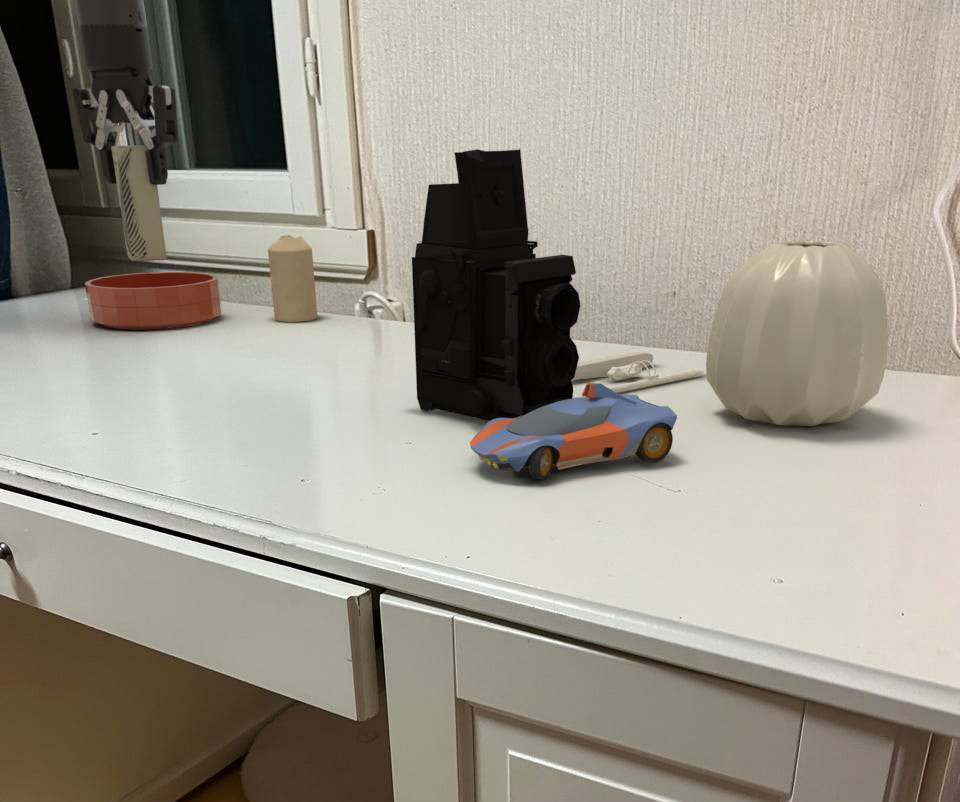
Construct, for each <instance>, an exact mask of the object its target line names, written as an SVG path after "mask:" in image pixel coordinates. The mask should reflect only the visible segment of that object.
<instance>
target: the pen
mask: <svg viewBox="0 0 960 802" xmlns="http://www.w3.org/2000/svg"><path fill="white" fill-rule="evenodd" d="M642 360H647V361H649V362H651V363H652V364H653V361H654V355H653V354H652V353H650V352H647V351H644V350H641V351H640V350H639V351H627V352H622V353H617V354H612V355H607V356H603V357H596V358H591V359H588V360H582V361H578V364H577V368H576V372H575V376H574V378H573V379H572V380H581V379H597V378H605V377H608V376H607V372H608V371H610V369H611V368H612V367H622V366H627V365H630V364H631V363H634V362H636V361H642ZM638 363H639V362H638ZM638 363H635V364H638ZM643 363H644V364H645V365H646V366H647V368H648V367H649V366H651V364H650V363H648V362H646V361H643ZM639 366H640V367H642V369H646V367H645V366H644V365H643V364H642V363H640V364H639Z"/></svg>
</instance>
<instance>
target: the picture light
mask: <svg viewBox="0 0 960 802" xmlns="http://www.w3.org/2000/svg"><path fill="white" fill-rule="evenodd" d="M643 361H646V362H648V363H650V366H651V367H652V368H653V372H654V374H651V372H650V369H649V368H648V367H647V366H646V365H645V364H644V363H643ZM638 362H639V363H638ZM635 363H638V364H635ZM640 363H642V364H643V365H644V366H645V369H646V370H647V374H648V375H646V379H643V380H642V379H641V380H637V381H633V382H627V383H623V384H618V385H613V386H606V387H607V388H609V389H611V390H612V391H614V392H616V393H618V394H620V393H623V392H628V391H632V390H637V389H643V388H649V387H652V386H657V385H661V384H666V383H672V382H677V381H681V380H687V379H690V378H697V377H699V376H702V374H703V373H704V370H701V369H694V368H693V369H691V370H687V371H682V372H679V373H678V372H677V373H673V374H668V375H663V376H660V375H659V373H657V371H656V368H655V366H654V364H653V362H652V363H651V362H649V361H647V360H642V361H636V362H634V363H631V364H630V365H627V366H622V367H612V368H611V369H610V371H608V372H607V376H606V377H607V378H609V379H610V380H611V381H615V382H618V381H620V380H622V379H628V378H637V377H639V375H640V374H641V373H642V372H643V368H642V367H640V366H639V364H640Z"/></svg>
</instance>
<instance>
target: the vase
mask: <svg viewBox="0 0 960 802" xmlns="http://www.w3.org/2000/svg"><path fill="white" fill-rule="evenodd" d="M887 307H888V306H887V299H886V294H885V290H884V286H883V282H882V280H881V279H880V277H879V275H878V274H877V272H876V271H875V270H874V269H873V267H871V265H870V264H869V263H868V262H867V261H866V260H865V259H864V258H863V257H862V256H861V255H860V254H859V253H857V251H855V250H854V249H852V248H851V247H850V246H849V245H846V244H845V243H840V242H837V241H826V240H786V241H778V242H774V243H771V245H769V246H767V247H765V248H764V249H762V250H760V251H759V252H758V253H756V254H755V255H754V256H751V258H750V259H748V260H747V261H746V262H744V263H743V264H742V265H741V266H740V267H738V268H737V269H736V270H735V271H734V272H732V274H731V275H730V277H729V279H728V281H727V282H726V283H725V286H724V288H723V289H722V292H721V295H720V297H719V301H718V303H717V306H716V310H715V313H714V317H713V321H712V324H711V328H710V333H709V337H708V343H707V349H706V361H705V371H706V381H707V382H708V384H709V386H710V388H711V389H712V390H713V392H714V393H715V395H716V397H717V398H718V399H719V401H720V402H721V404H722V405H723V406H724V407H725V408H726V410H727V411H729V412H731V413H732V414H736V415H739V416H741V417H742V418H743V419H745V420H748V421H752V422H758V423H759V422H760V423H767V424H772V425H776V426H800V427H816V426H818V425H821V424H822V425H823V424H832V423H833V424H834V423H841V422H844V421H845V420H847V419H849V418H850V417H851V416H852V415H854V414H855V413H857V412H858V411H859V410H860V409H861V408H863V407H864V406H865V405H866V404H867V403H868V402H870V401H871V400H872V399H874V397H876V396H877V395H878V393H879V391H880V388H881V386H882V383H883V381H884V377H885V376H884V375H885V372H886V364H887V358H888V357H887V356H888V338H889V334H888V332H889V331H888V329H889V328H888V308H887Z"/></svg>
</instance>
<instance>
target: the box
mask: <svg viewBox="0 0 960 802" xmlns="http://www.w3.org/2000/svg"><path fill="white" fill-rule="evenodd" d="M111 150H112V156H113V163H114V169H115V176H116V182H117V184H116V188H117V195H118V202H119V208H120V214H121V220H122V228H123V234H124V242H125V249H126V255H127V257H128V259H130V261H133V262H144V261H149V262H150V261H164V260H167V258H168V256H167V249H166V242H165V241H166V240H165V234H164V228H163V226H164V225H163V219H162V213H161V204H160V197H159V189H158V185H152V184H151V183H150V180H149V173H148V166H147V160H146V153H145V151H149V149H148V148H147V147H146V146H145V145H139V144H138V145H117V146H111Z"/></svg>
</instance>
